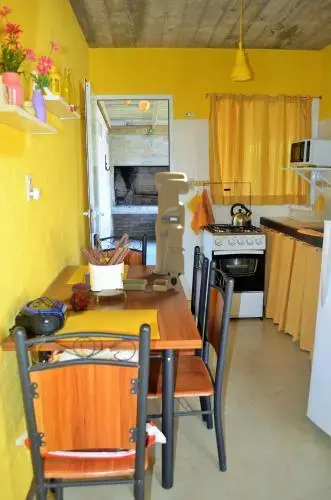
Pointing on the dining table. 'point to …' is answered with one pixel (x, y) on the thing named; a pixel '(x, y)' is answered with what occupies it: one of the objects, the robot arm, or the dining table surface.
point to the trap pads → (149, 290)
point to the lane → (141, 285)
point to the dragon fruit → (80, 300)
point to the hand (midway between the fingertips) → (173, 285)
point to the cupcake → (80, 286)
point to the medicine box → (87, 279)
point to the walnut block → (160, 282)
